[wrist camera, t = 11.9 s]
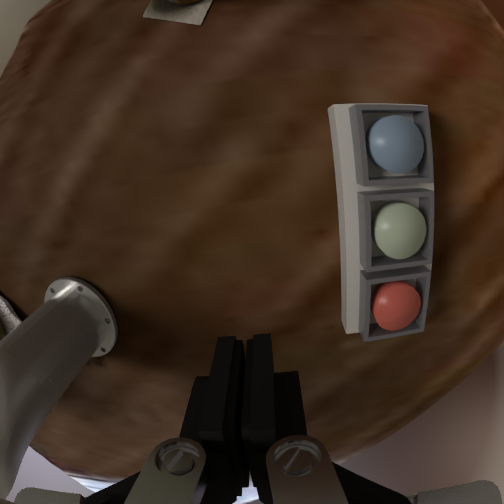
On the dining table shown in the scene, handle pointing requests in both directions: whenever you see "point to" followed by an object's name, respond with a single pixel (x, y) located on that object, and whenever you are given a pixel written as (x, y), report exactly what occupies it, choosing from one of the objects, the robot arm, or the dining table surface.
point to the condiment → (178, 10)
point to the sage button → (398, 229)
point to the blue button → (394, 144)
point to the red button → (395, 304)
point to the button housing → (364, 207)
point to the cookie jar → (7, 318)
